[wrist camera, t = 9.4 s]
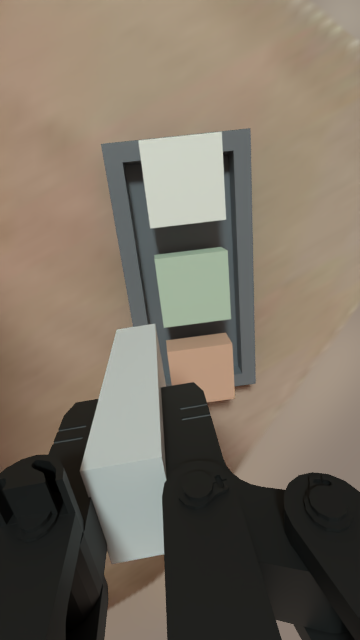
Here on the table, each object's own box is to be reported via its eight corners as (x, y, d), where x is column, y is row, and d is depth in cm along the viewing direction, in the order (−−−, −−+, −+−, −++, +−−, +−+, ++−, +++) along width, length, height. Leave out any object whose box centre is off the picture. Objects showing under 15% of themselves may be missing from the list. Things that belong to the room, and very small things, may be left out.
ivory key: (140, 152, 21) (138, 140, 18) (210, 144, 21) (221, 131, 18) (150, 225, 23) (150, 228, 19) (215, 218, 23) (226, 219, 19)
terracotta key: (165, 333, 26) (167, 352, 22) (222, 326, 26) (232, 343, 23) (172, 382, 28) (174, 407, 24) (225, 375, 28) (235, 398, 24)
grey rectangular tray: (106, 151, 22) (101, 144, 20) (240, 136, 22) (250, 128, 20) (146, 383, 29) (145, 398, 27) (247, 369, 29) (255, 383, 27)
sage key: (154, 252, 23) (154, 259, 20) (216, 244, 24) (227, 250, 20) (162, 311, 25) (163, 327, 22) (220, 304, 25) (231, 319, 22)
